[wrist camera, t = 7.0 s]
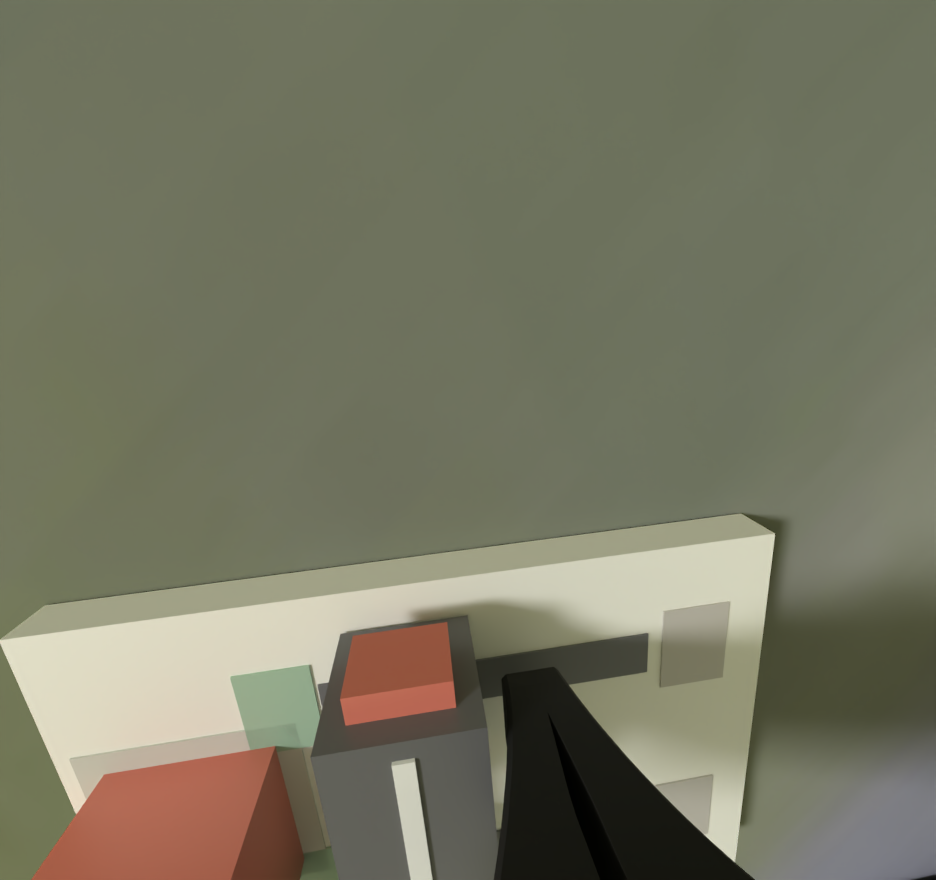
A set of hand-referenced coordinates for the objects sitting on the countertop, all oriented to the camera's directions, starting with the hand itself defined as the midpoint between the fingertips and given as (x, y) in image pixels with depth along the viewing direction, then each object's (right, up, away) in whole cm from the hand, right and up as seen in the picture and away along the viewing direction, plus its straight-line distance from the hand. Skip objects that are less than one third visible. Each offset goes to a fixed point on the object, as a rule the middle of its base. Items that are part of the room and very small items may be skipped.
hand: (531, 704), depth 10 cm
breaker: (-3, 0, +1) cm, 3 cm away
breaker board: (-2, -3, +3) cm, 4 cm away
